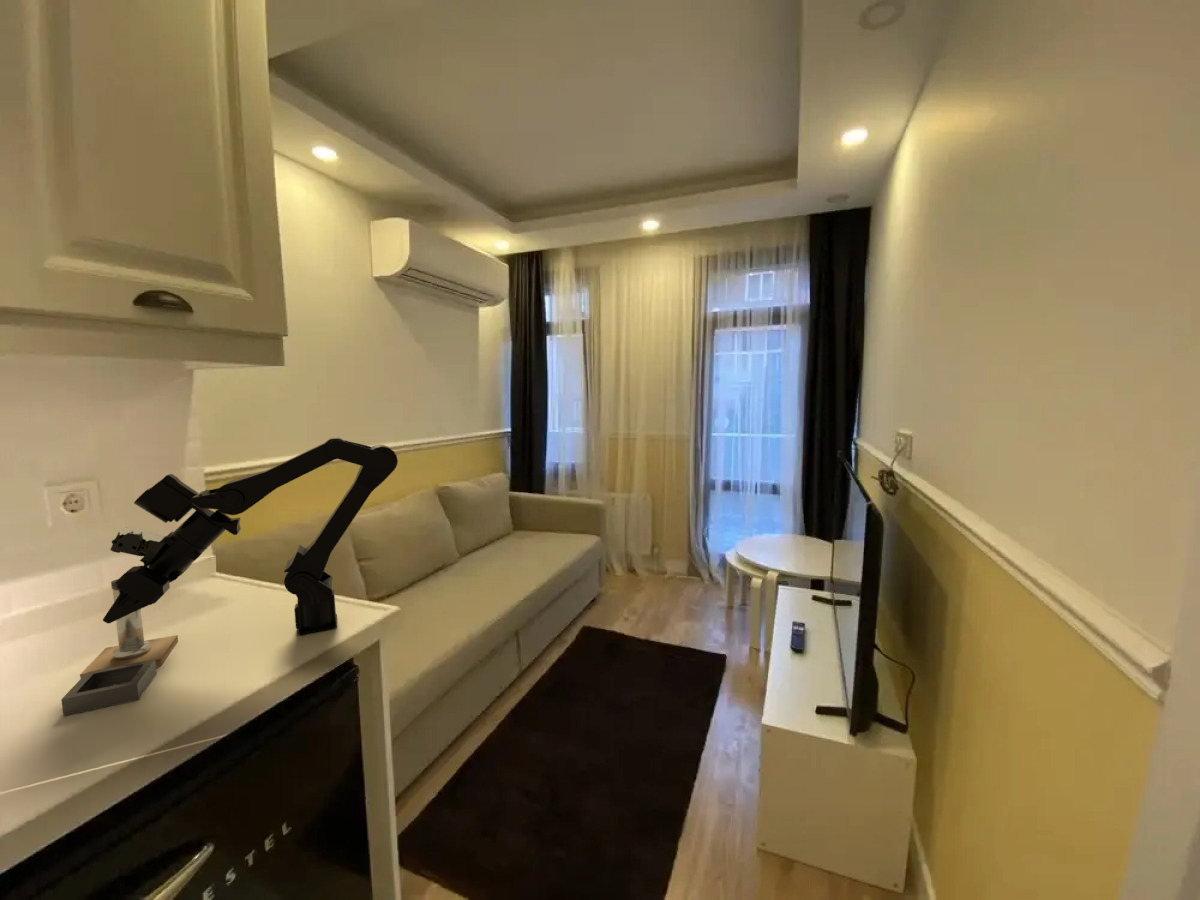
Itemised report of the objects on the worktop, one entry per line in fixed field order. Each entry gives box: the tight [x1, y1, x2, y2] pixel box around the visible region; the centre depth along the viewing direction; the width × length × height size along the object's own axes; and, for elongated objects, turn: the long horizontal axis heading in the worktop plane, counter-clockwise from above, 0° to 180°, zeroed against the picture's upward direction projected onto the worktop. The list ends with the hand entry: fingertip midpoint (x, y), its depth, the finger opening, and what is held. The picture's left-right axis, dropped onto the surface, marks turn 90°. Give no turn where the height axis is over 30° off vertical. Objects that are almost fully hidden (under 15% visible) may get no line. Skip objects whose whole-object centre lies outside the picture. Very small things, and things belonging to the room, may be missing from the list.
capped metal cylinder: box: [110, 578, 151, 660], centre depth 87 cm, size 5×5×13 cm
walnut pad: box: [79, 634, 179, 679], centre depth 87 cm, size 10×10×1 cm
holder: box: [60, 659, 157, 717], centre depth 77 cm, size 8×8×2 cm
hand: (116, 611), depth 86 cm, fingers open, 9 cm apart
